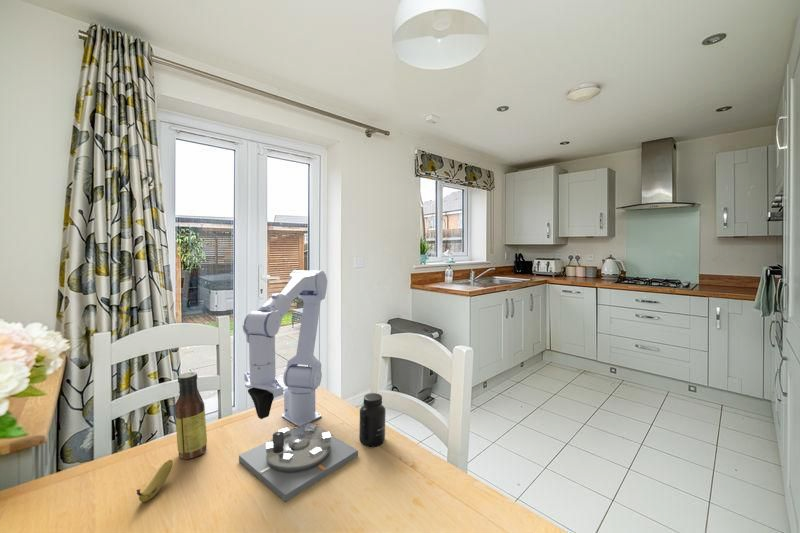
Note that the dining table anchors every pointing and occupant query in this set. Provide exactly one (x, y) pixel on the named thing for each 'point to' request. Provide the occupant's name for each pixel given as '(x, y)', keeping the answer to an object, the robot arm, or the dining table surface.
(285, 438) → the grey turntable disc
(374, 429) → the supplement bottle
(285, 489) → the boss plate
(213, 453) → the dining table surface
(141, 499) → the banana
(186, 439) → the sauce bottle
